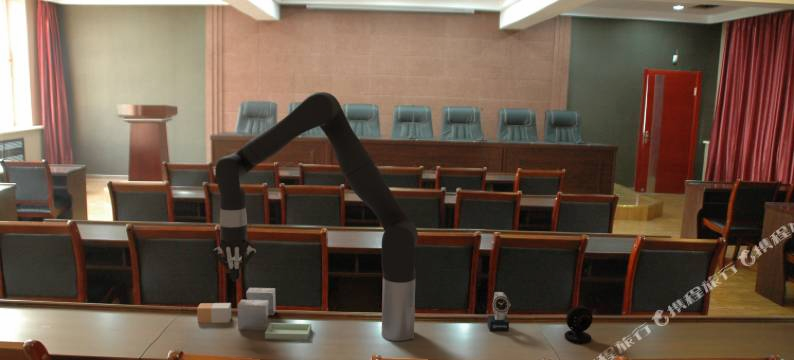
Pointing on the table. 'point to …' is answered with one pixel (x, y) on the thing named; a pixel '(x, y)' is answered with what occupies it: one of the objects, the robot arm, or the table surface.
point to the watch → (499, 313)
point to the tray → (288, 331)
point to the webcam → (579, 325)
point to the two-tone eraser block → (214, 312)
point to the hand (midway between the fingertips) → (235, 279)
